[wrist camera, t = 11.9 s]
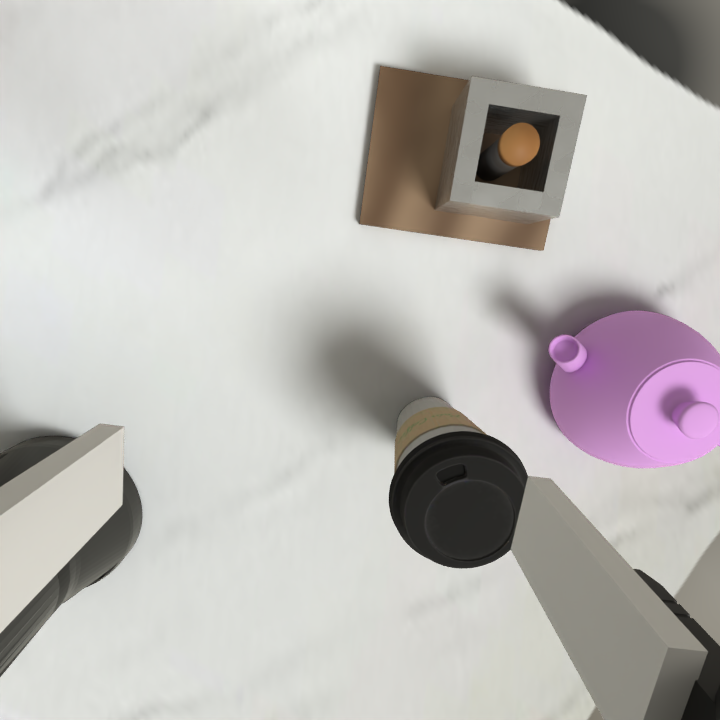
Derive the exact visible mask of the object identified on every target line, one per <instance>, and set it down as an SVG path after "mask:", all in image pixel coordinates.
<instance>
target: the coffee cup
mask: <svg viewBox="0 0 720 720" xmlns="http://www.w3.org/2000/svg"><path fill="white" fill-rule="evenodd" d="M527 479H528V475H527V473H526V470H525V468H524V466H523V464H522V462H521V460H520V459H519V458H518V456H517V455H516V454H515V453H514V452H513V451H512V450H511V449H510V448H509V447H508V446H507V445H505V444H504V443H502V442H501V441H499V440H497V439H495V438H493V437H491V436H488V435H487V434H485V433H484V432H483V431H482V430H481V429H480V428H479V427H477V426H476V425H475V424H474V423H473V422H472V421H470V420H469V419H468V418H467V417H466V416H464V415H463V414H462V413H461V412H459V411H457V410H455V409H454V408H453V407H451V406H450V405H449V404H448V403H447V402H445V401H444V400H442V399H440V398H436V397H425V398H420V399H417V400H415V401H413V402H411V403H410V404H408V405H407V406H406V407H405V408H404V409H403V410H402V411H401V413H400V415H399V417H398V420H397V435H396V439H395V471H394V476H393V479H392V482H391V485H390V490H389V507H390V512H391V516H392V519H393V521H394V524H395V526H396V527H397V530H398V531H399V533H400V535H401V536H402V538H403V539H404V540H405V542H406V543H407V544H408V545H409V546H410V547H411V548H412V549H414V550H415V551H416V552H418V553H419V554H421V555H422V556H424V557H426V558H428V559H430V560H432V561H434V562H436V563H438V564H441V565H443V566H447V567H452V568H473V567H479V566H482V565H486V564H488V563H491V562H493V561H495V560H497V559H499V558H500V557H502V556H503V555H505V554H506V553H507V552H508V551H509V550H511V546H512V542H513V537H514V533H515V529H516V525H517V521H518V517H519V512H520V508H521V504H522V500H523V496H524V491H525V487H526V483H527Z"/></svg>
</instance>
